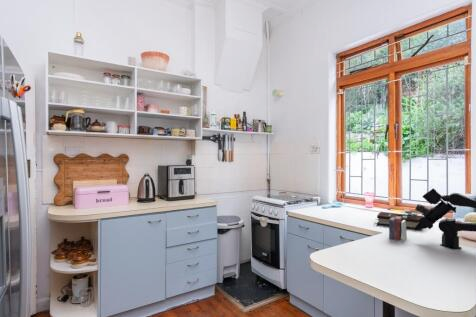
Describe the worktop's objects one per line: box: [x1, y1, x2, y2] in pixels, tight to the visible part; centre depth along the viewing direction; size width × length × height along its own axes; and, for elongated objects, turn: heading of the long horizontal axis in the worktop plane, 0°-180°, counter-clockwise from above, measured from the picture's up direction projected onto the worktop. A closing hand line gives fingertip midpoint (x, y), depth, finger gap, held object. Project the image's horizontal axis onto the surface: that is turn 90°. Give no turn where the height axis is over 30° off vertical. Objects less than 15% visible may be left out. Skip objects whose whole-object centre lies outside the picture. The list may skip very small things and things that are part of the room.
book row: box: [388, 216, 402, 241], centre depth 156 cm, size 5×8×12 cm, turn 142°
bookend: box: [401, 220, 408, 242], centre depth 153 cm, size 1×8×10 cm, turn 142°
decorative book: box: [375, 211, 423, 231], centre depth 187 cm, size 19×8×30 cm
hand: (414, 229), depth 150 cm, fingers closed
